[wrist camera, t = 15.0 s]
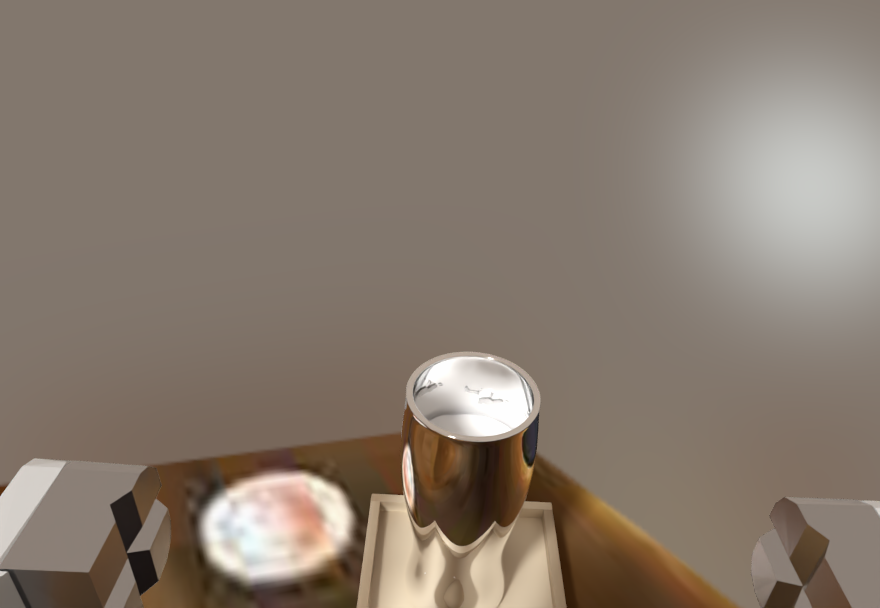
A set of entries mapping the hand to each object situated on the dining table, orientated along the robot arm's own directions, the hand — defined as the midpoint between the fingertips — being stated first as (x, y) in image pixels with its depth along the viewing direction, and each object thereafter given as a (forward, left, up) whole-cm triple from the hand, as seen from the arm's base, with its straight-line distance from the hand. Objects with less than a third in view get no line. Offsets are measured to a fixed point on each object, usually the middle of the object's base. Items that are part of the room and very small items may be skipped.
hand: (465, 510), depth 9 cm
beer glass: (+2, +19, -30) cm, 35 cm away
